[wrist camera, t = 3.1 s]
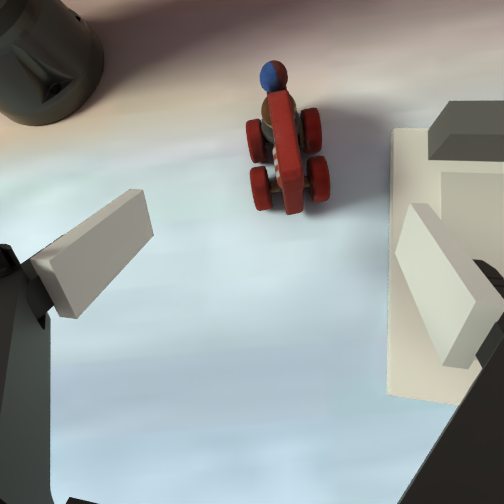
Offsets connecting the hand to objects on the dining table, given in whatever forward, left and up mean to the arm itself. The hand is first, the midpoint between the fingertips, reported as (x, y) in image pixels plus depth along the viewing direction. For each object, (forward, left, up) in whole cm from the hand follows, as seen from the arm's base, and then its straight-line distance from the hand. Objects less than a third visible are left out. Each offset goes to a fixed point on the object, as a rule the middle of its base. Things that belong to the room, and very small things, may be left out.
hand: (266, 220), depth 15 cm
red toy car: (-10, 0, -14) cm, 17 cm away
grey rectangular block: (-12, +19, -12) cm, 26 cm away
